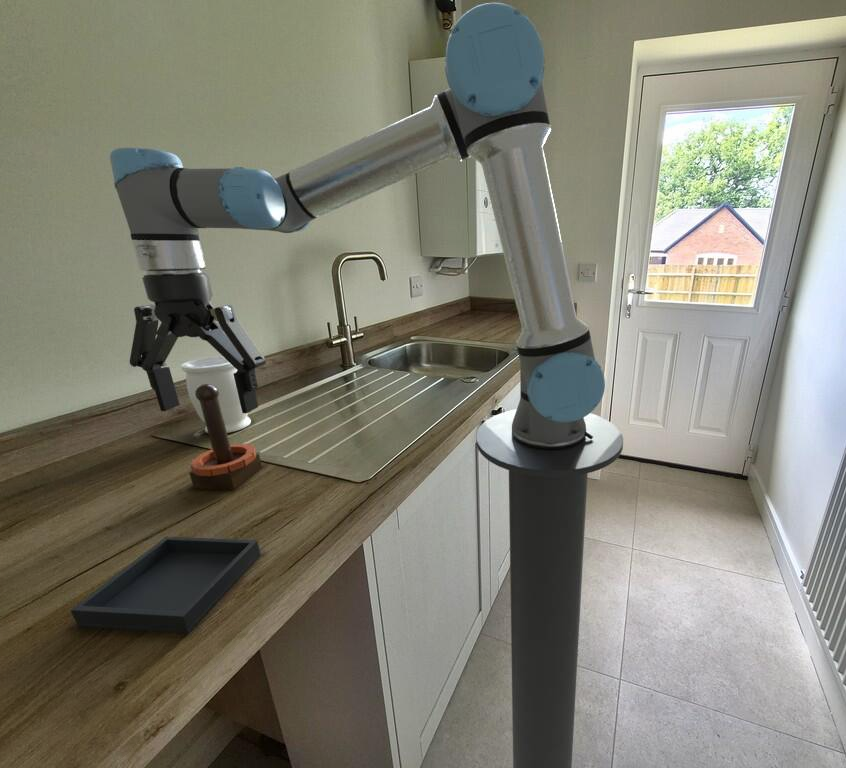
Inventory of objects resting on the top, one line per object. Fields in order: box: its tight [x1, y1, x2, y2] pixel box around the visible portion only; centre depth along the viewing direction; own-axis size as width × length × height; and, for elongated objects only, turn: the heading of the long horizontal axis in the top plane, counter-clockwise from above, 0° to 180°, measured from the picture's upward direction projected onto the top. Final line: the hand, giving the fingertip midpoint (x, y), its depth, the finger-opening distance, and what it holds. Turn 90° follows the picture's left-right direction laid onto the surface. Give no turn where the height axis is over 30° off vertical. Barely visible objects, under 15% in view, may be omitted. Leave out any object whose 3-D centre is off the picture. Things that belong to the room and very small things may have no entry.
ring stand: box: [189, 384, 263, 491], centre depth 67 cm, size 7×7×17 cm
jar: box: [180, 355, 252, 434], centre depth 87 cm, size 11×10×15 cm
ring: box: [190, 443, 257, 476], centre depth 68 cm, size 9×9×1 cm
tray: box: [70, 536, 261, 635], centre depth 47 cm, size 12×11×2 cm
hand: (210, 409), depth 66 cm, fingers open, 13 cm apart
